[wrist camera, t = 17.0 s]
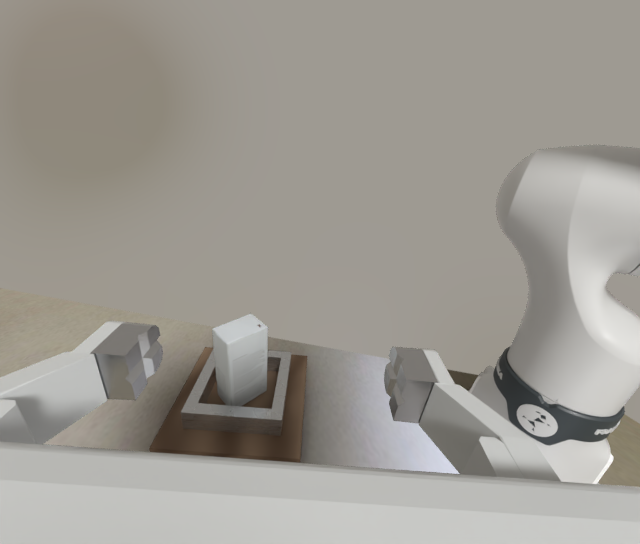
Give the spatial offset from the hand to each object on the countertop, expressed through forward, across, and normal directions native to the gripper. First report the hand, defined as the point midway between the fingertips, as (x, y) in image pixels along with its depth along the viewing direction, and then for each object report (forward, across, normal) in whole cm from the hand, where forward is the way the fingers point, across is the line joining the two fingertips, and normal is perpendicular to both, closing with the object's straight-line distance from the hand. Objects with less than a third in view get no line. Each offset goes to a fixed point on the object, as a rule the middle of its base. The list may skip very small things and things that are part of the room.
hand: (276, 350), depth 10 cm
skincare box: (+23, +7, +29) cm, 37 cm away
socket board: (+23, +7, +30) cm, 38 cm away
